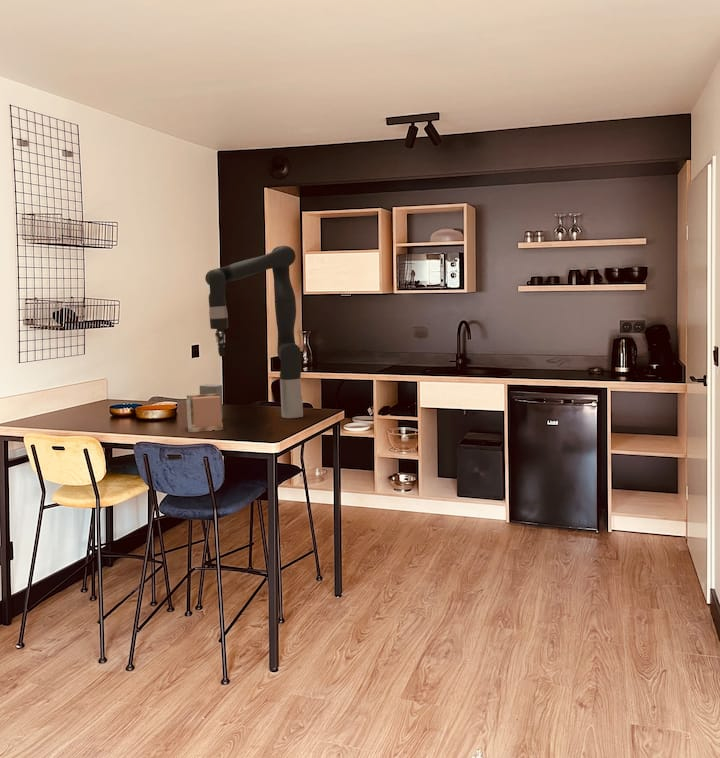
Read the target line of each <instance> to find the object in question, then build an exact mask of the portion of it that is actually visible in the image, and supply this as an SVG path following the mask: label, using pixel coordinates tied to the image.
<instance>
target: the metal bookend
mask: <svg viewBox="0 0 720 758" xmlns="http://www.w3.org/2000/svg"><path fill="white" fill-rule="evenodd" d="M185 401H186V413H187V414H186V416H187V417H186V418H187V430H188V429H192V415H191V398H187V397H186V400H185Z"/></svg>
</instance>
